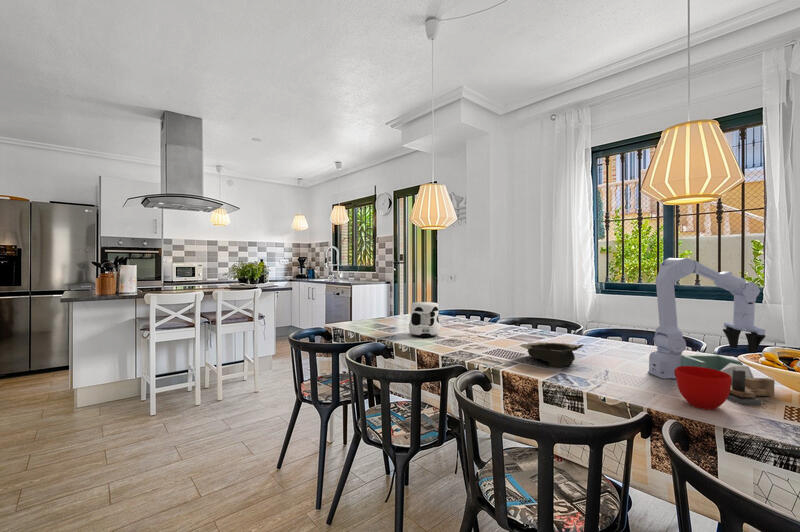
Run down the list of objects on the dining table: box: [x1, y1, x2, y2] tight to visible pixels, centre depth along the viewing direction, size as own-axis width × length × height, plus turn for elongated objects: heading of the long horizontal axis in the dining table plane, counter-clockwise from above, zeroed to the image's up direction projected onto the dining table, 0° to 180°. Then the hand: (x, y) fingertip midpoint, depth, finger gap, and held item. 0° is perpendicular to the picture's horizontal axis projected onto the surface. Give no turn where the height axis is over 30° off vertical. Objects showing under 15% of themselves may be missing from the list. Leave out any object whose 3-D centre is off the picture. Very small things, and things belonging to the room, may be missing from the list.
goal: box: [681, 354, 744, 371], centre depth 140 cm, size 15×10×7 cm, turn 91°
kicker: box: [730, 369, 776, 398], centre depth 119 cm, size 16×7×9 cm, turn 91°
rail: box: [726, 393, 763, 406], centre depth 123 cm, size 6×18×2 cm, turn 1°
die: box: [720, 363, 755, 386], centre depth 129 cm, size 8×9×10 cm
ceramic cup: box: [675, 366, 732, 411], centre depth 115 cm, size 13×17×10 cm
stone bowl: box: [519, 342, 584, 368], centre depth 161 cm, size 25×25×9 cm
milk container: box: [408, 301, 441, 338], centre depth 213 cm, size 17×17×18 cm
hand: (742, 350), depth 141 cm, fingers open, 7 cm apart
